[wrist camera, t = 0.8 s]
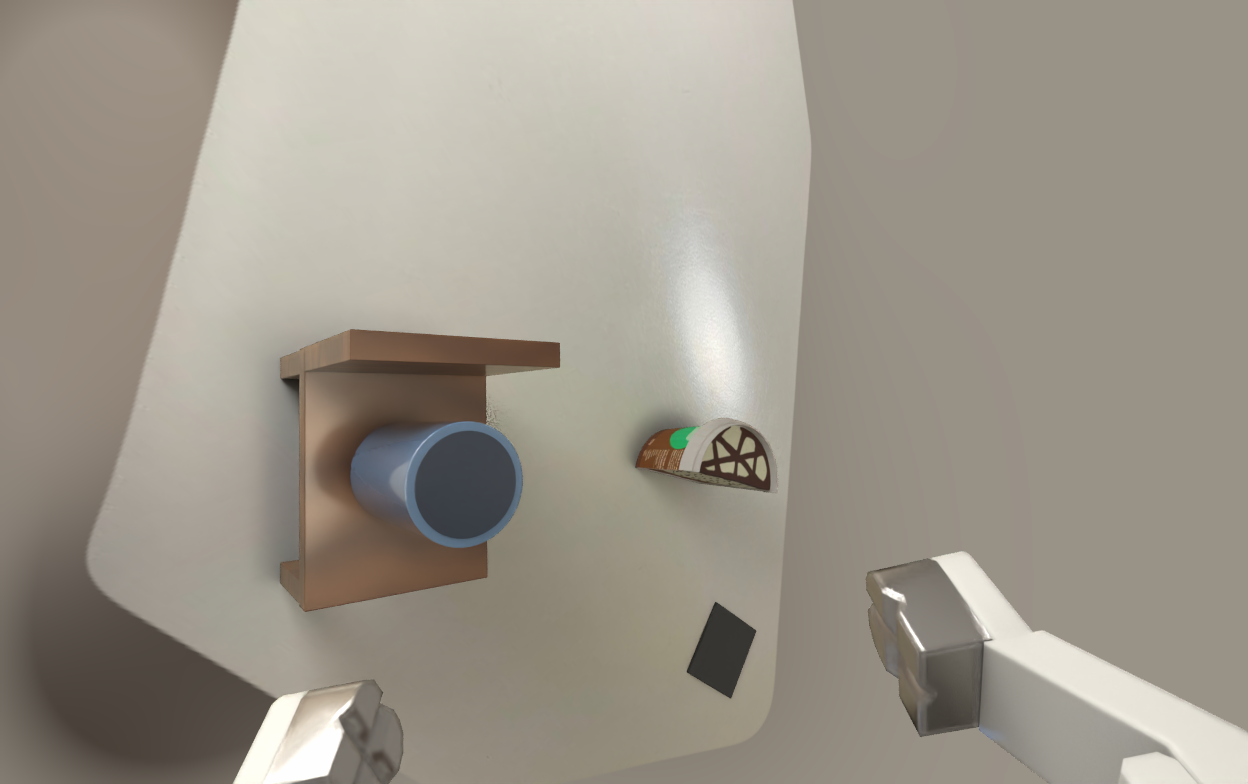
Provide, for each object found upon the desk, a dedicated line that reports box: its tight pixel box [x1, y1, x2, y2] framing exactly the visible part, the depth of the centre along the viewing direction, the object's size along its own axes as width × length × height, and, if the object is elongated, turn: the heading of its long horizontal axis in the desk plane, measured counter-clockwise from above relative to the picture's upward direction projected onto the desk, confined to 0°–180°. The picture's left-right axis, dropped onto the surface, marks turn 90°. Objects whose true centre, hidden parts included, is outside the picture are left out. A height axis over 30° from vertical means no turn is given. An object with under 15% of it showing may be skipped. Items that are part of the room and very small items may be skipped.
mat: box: [687, 602, 756, 698], centre depth 71 cm, size 8×8×1 cm
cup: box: [350, 421, 523, 548], centre depth 38 cm, size 7×7×10 cm
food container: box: [636, 418, 778, 493], centre depth 64 cm, size 12×6×10 cm, turn 77°
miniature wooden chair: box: [280, 329, 560, 612], centre depth 41 cm, size 16×12×18 cm
